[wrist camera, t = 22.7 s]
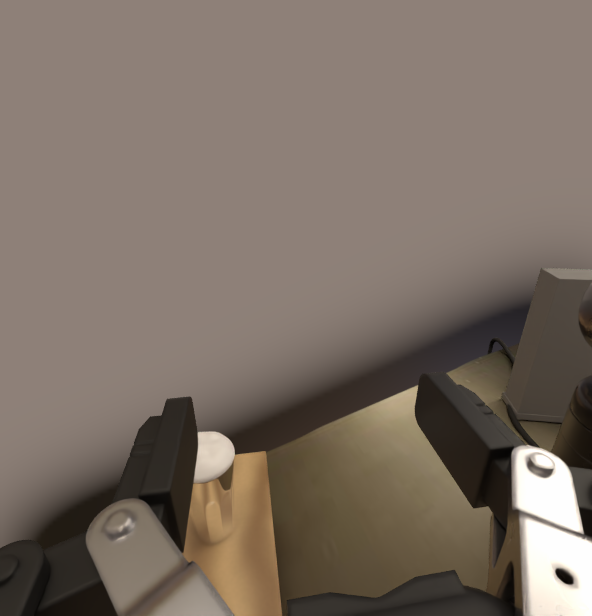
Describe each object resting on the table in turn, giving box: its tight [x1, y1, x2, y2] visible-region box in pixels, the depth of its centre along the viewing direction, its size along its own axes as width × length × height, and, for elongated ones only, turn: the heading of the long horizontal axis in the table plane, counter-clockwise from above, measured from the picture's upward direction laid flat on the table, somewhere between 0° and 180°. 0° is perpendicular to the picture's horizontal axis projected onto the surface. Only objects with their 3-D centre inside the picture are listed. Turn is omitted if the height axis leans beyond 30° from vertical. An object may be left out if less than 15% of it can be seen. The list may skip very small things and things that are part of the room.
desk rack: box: [182, 451, 282, 616], centre depth 32 cm, size 11×15×14 cm
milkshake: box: [189, 432, 235, 544], centre depth 28 cm, size 4×5×10 cm
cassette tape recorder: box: [502, 268, 592, 423], centre depth 55 cm, size 14×6×25 cm, turn 82°
